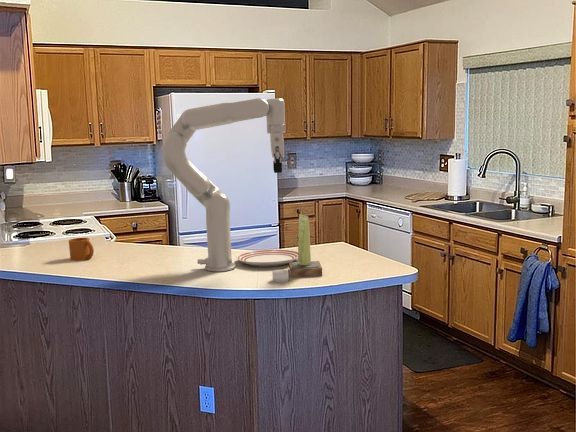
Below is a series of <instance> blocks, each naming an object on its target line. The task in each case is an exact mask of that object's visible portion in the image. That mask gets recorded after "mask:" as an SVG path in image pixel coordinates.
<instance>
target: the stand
mask: <svg viewBox="0 0 576 432" xmlns="http://www.w3.org/2000/svg"><path fill="white" fill-rule="evenodd" d="M288 264H289V270H288V271H289V275H290V278H299V277H300V278H302V277H303V278H304V277H320V276H321V277H323V267H322V265H321V262H320V260H311V264H310V265H299V264H298V261H292V262H289V263H288Z"/></svg>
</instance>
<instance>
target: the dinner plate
mask: <svg viewBox="0 0 576 432" xmlns="http://www.w3.org/2000/svg"><path fill="white" fill-rule="evenodd" d="M236 260H238V261H239V262H240V263H243V264H246V265H249V266H253V267H260V268H264V267H265V268H266V267H267V268H268V267H269V268H270V267H279V266H283V265H288V264H289V262H295V261H296V260H298V250H290V249H283V248H282V249H281V248H280V249H279V248H278V249H277V248H276V249H274V248H273V249H259V250H251V251H248V252H243V253H240V254H238V255H237V256H236Z"/></svg>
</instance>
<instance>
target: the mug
mask: <svg viewBox="0 0 576 432" xmlns="http://www.w3.org/2000/svg"><path fill="white" fill-rule="evenodd" d="M68 248H69V259H70V261H72V260H74V261H75V262H76V261H77V262H79V261H87V260H90V259H92V258H93V256H94V250H95V249H94V246H93V244H92V242H91V241H90V238H89V237H75V238H71V239H68Z"/></svg>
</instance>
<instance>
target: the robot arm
mask: <svg viewBox="0 0 576 432" xmlns="http://www.w3.org/2000/svg"><path fill="white" fill-rule="evenodd" d="M285 107H286V105H285V100H284V99H283V98H280V97H279V98H269V99H264V98H260V97H257V98H251V99H247V100H241V101H235V102H221V103H215V104H211V105H210V104H209V105H205V106H198V107H194V108H192V107H191V108H188V109H185V110H184V111H183V112H182V113H181V115H179V118H178V119H177V121H175V123H174V125H172V127H171V128H170V130H169V131H168V132H167V134H166V135H165V137H164V138H163V139H164V140H163V148H162V156H163V162H164V164H165V167H166V168H167V169H168V171H169V172H170V173H171V174H172V175H173V176H174V177H175V178H176V179H177V180H178V181H179V182H180V183H181V184H182V185H183V187H184V188H186V189H185V190H187V192H188V193H190V194H191V195H192V196H193V197H194V198H195V199H196V201H198V202H199V203H200V204H201V205H202V206H203V207H204V208H205V223H206V224H205V226H206V228H205V229H206V242H207V257H206V258H204V259H202V258H199V259H197V265H204V270H205V271H207V272H218V273H219V272H227V271H231V270H235V268H236V267H237V264H236V263H234V262H233V259H232V256H233V255H232V240H231V238H232V237H231V215H230V214H231V203H230V199H229V198H228V196H227V194H226V193H224V192H223V191H221V190H220V189H219V188H218V186H216V185H215V184H214V182H213V181H212V180H210V178H209V177H208V176H207V175H206V174H205V173H203V172H202V171H200V169H198V168H197V166H195V165H194V163H192V161H191V160H190V159H189V158H188V157H187V155H186V152H185V151H186V147H187V146H188V144H187V143H188V142H189V141H190V139H191V138H192V137H193V136H194V134H195V133H196V132H197V131H198V130H204V129H207V128H215V127H219V126H225V125H230V124H234V123H238V122H242V121H248V120H254V119H260V118H263V117H266V134H269V138H270V153H271V156H272V158H273V161H272V164H273V165H272V166H273V173H274V174H280V173H283V163H282V158H285V144H284V143H285V140H284V134H285V133H286V131H287V129H286V108H285Z"/></svg>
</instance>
